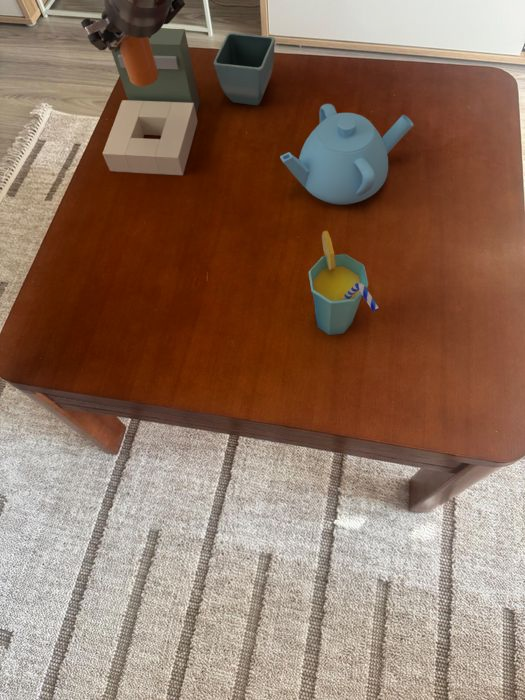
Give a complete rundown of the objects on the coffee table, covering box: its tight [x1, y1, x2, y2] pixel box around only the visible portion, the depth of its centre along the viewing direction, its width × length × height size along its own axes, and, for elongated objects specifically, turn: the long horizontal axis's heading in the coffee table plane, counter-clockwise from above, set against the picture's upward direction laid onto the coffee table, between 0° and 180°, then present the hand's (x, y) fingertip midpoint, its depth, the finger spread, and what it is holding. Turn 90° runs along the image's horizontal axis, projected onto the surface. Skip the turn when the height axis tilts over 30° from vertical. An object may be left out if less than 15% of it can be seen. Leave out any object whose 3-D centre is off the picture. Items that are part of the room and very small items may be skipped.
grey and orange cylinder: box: [120, 36, 158, 86], centre depth 76 cm, size 5×5×9 cm
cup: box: [308, 230, 380, 336], centre depth 69 cm, size 14×8×15 cm, turn 28°
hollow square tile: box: [102, 99, 199, 176], centre depth 92 cm, size 13×13×4 cm
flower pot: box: [213, 32, 276, 106], centre depth 94 cm, size 9×9×9 cm
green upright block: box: [110, 28, 200, 115], centre depth 92 cm, size 12×4×14 cm, turn 82°
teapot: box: [279, 103, 414, 206], centre depth 83 cm, size 15×17×11 cm
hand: (128, 37), depth 76 cm, fingers closed on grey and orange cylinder, 4 cm apart
